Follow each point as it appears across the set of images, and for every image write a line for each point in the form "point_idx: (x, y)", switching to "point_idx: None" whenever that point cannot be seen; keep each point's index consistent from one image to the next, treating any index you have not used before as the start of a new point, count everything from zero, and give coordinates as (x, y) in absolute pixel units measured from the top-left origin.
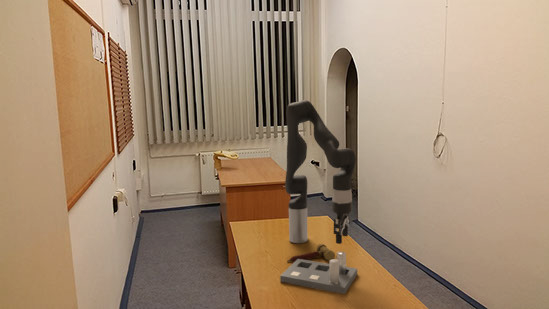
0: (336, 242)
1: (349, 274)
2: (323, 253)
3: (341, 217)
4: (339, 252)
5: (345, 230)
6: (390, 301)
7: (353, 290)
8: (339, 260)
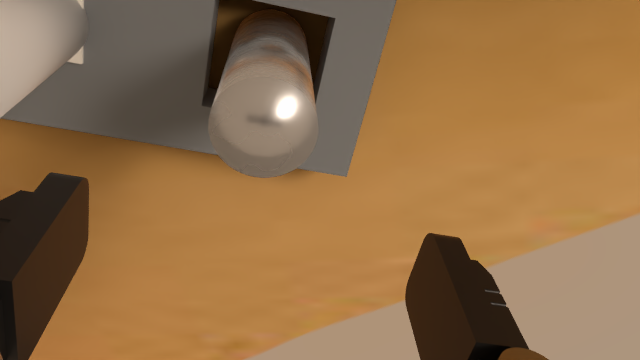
0: (49, 182)
1: None
2: None
3: None
4: (285, 106)
5: (437, 343)
6: None
7: (78, 146)
8: (218, 87)
